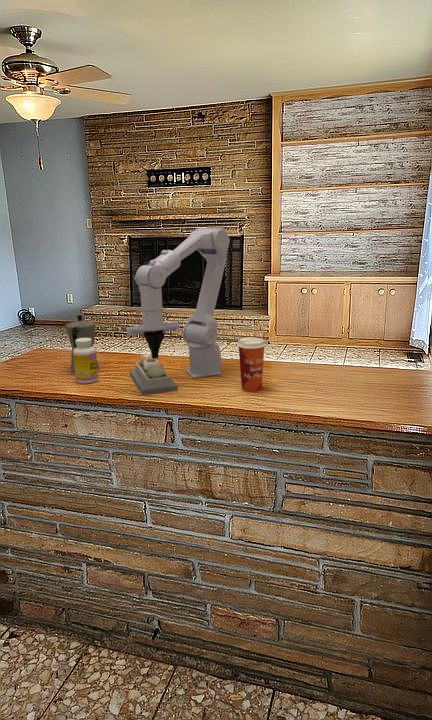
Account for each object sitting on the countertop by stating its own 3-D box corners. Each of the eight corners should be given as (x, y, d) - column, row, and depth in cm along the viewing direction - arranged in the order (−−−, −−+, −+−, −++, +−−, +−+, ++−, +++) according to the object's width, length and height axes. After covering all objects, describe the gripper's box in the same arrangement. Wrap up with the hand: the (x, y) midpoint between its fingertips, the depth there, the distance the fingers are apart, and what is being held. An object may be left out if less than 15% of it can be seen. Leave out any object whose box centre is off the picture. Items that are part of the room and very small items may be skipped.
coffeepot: (75, 364, 173) (69, 311, 168) (103, 363, 173) (98, 310, 168) (63, 378, 158) (56, 321, 153) (93, 377, 158) (88, 320, 153)
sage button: (162, 373, 148) (161, 362, 148) (165, 377, 144) (164, 366, 144) (147, 375, 147) (146, 364, 146) (150, 379, 143) (149, 368, 142)
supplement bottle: (93, 384, 152) (88, 342, 148) (72, 383, 153) (67, 342, 149) (102, 377, 158) (98, 337, 154) (82, 376, 159) (78, 336, 156)
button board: (161, 370, 163) (160, 358, 162) (177, 390, 145) (176, 377, 144) (129, 374, 160) (129, 362, 159) (142, 395, 142) (141, 381, 140)
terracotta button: (153, 362, 159) (152, 352, 158) (156, 366, 155) (155, 356, 154) (139, 364, 158) (138, 354, 157) (141, 368, 154) (141, 357, 153)
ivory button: (157, 367, 154) (156, 357, 153) (160, 371, 150) (160, 361, 149) (142, 369, 153) (142, 359, 152) (145, 373, 149) (145, 363, 148)
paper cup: (247, 394, 140) (246, 345, 136) (233, 386, 146) (232, 339, 142) (271, 389, 143) (271, 341, 139) (256, 382, 150) (256, 335, 146)
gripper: (174, 305, 146) (176, 351, 150) (123, 309, 142) (126, 356, 146) (180, 309, 140) (182, 357, 144) (127, 314, 135) (131, 363, 139)
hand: (154, 357), depth 144 cm, fingers closed
